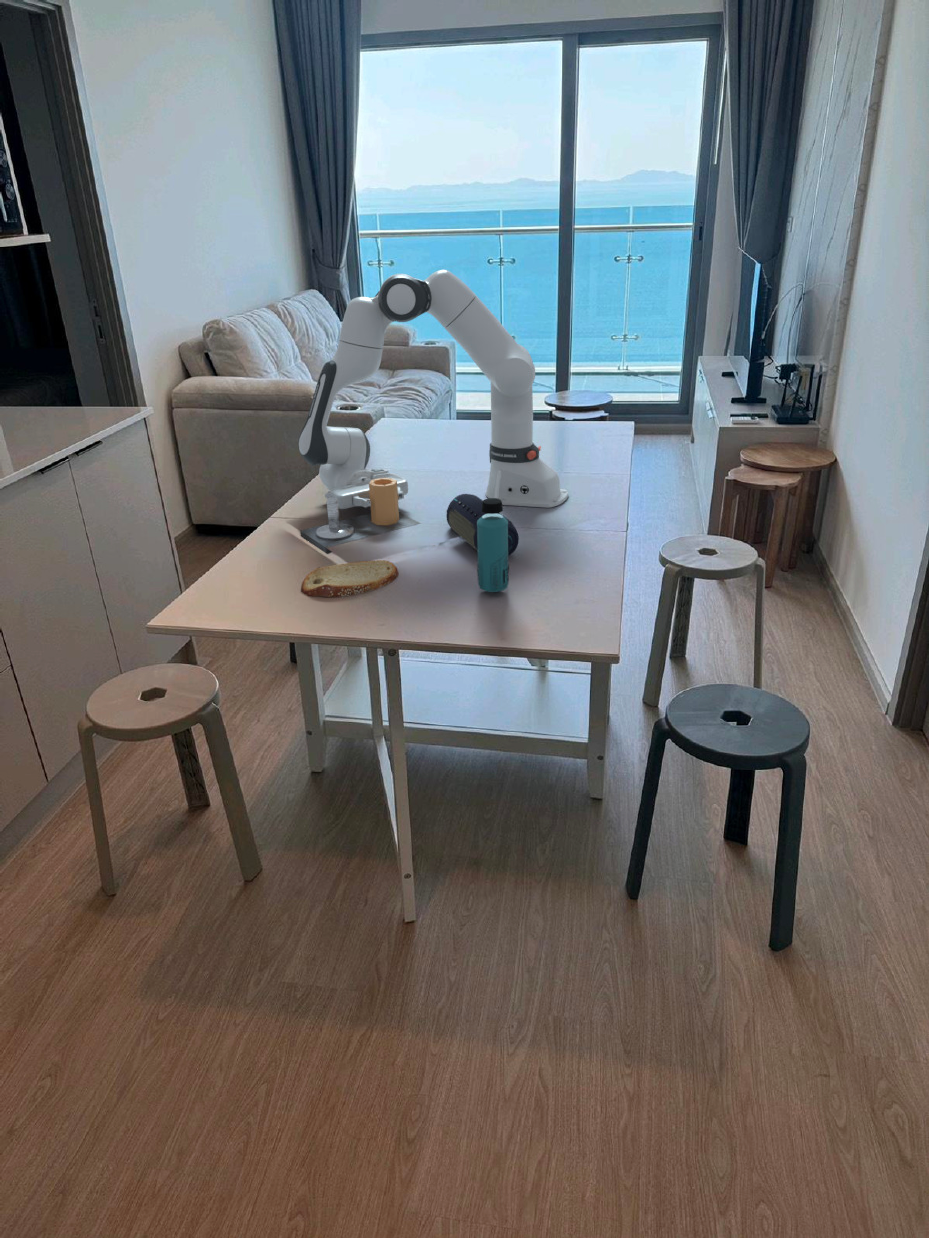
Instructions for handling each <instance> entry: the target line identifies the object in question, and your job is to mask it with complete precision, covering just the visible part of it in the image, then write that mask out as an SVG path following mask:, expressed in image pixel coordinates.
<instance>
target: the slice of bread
mask: <svg viewBox="0 0 929 1238" xmlns="http://www.w3.org/2000/svg"><path fill="white" fill-rule="evenodd" d="M398 576H399V570H398V568H397V566H396V565H395V564H394V563H393V562H392V561H389V560H385V559H383V560H380V559H379V560H378V559H377V560H362V561H354V562H347V563H340V564H334V565H329V566H322V567H320V566H319V567H317V568H315V569H314V570H311V571H310V572H309V573H308V574H307V575H306V576H305V577H304V579H303V580H302V583H301V587H300V593H302V594H304V595H305V596H307V597H312V598H314V597H316V598H317V597H318V598H319V597H320V598H331V599H333V598H343V597H350V596H351V597H352V596H356V595H361V594H364V593H367V592H370V591H375V590H378V589H381V588H382V587H385V586H387V585H390V584H391V583H393V581H395V580H396V579H397V578H398Z"/></svg>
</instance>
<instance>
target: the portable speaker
mask: <svg viewBox="0 0 929 1238" xmlns="http://www.w3.org/2000/svg"><path fill="white" fill-rule="evenodd" d="M483 500H484V499H481V498H480V497H478V496H477V495H475V494H471V493H461V494H459V495H456V496H455V497H454V498H453V499H452V500H451V501H450V502H449V505H448V507H447V509H446V522H447V525H448V526H449V527H450V528H451V530H452V531H454V532H455V533H456V534H457V535H458V536H459V537H461V538H462V539H463V540H465V542H466V543H467V544H469V545H470V546H471V547H472V548H473V549H475V550H476V552H478V548H477V547H478V539H477V521H478V520H479V519H480V518H481V517H482V516H483V515H485V514H488V513H484V512H482V502H483ZM496 514H500V515H502V516H504V515H503V514H502V513H501V512H500V513H496ZM504 517H505V518H506V519H507V520H508V547H509V548H508V557H510V556H511V555H513V553H515V552H516V550H517V548H518V546H519V541H520V540H519V539H520V538H519V533H518V530H517V528H516V527H515V525H514V524H513V522H512V521H511V520H510V519H509V518H507V517H506V516H504Z"/></svg>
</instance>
